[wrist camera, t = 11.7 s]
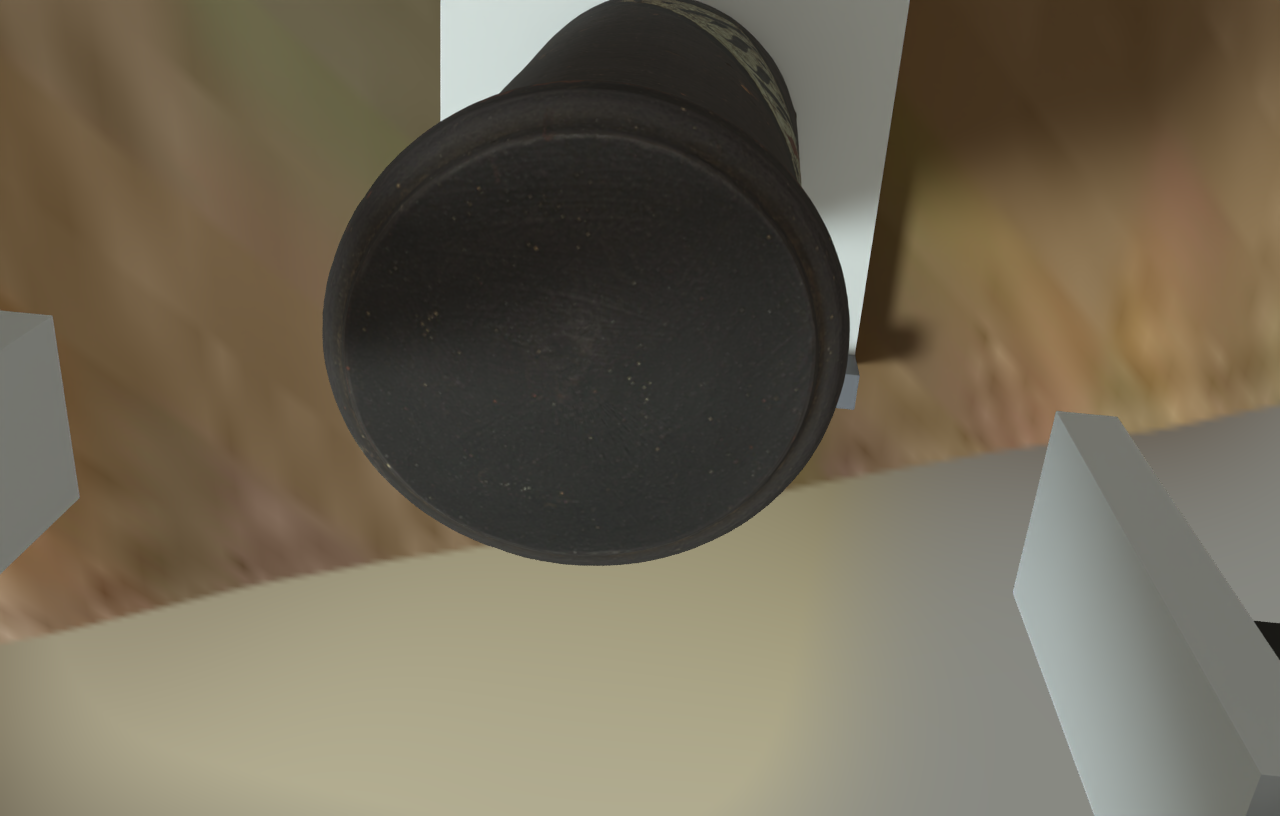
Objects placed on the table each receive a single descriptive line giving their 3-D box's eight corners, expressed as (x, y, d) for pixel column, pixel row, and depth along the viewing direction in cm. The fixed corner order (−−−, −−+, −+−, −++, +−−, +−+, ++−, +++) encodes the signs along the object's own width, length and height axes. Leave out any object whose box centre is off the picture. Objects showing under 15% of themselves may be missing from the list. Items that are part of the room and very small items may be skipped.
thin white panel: (456, -320, 34) (424, -342, 31) (944, -286, 34) (967, -305, 30) (453, 332, 43) (427, 372, 39) (844, 369, 42) (853, 413, 39)
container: (790, 269, 39) (829, 619, 20) (516, 255, 39) (317, 583, 21) (814, -12, 35) (887, 108, 17) (512, -23, 36) (268, 82, 17)
